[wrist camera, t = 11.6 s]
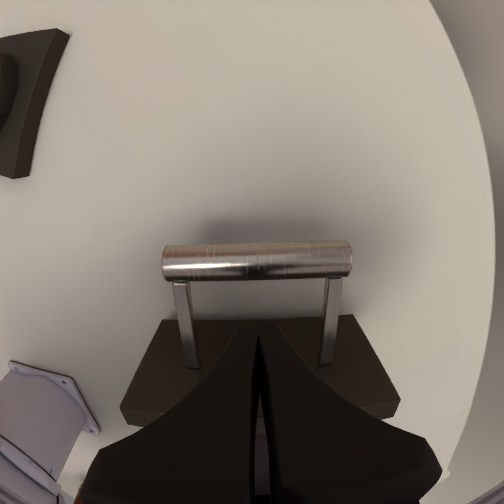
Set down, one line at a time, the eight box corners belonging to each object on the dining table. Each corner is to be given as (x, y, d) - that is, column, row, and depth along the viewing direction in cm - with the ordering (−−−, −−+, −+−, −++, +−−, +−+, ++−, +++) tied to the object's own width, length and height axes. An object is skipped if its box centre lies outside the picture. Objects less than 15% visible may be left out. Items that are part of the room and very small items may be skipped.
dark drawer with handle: (147, 225, 15) (73, 278, 8) (362, 219, 14) (440, 268, 8) (194, 445, 21) (183, 513, 14) (325, 441, 20) (340, 509, 13)
